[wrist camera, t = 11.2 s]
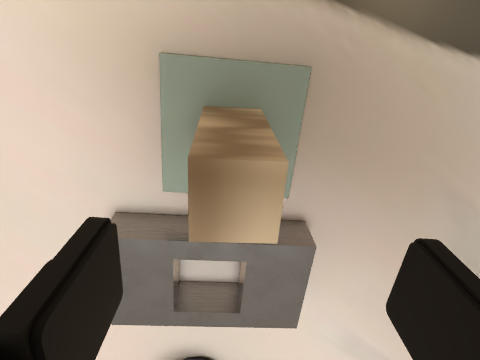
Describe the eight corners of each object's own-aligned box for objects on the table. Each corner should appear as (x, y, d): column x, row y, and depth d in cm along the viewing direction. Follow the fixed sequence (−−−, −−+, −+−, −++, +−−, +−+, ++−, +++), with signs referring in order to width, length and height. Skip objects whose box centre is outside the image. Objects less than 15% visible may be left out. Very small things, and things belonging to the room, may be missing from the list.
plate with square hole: (305, 221, 26) (316, 246, 23) (288, 297, 30) (296, 328, 27) (115, 212, 25) (99, 237, 21) (124, 293, 28) (111, 324, 25)
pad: (309, 66, 20) (311, 67, 20) (286, 194, 25) (288, 198, 24) (161, 52, 20) (159, 53, 19) (164, 187, 24) (162, 191, 23)
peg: (260, 108, 21) (288, 162, 12) (256, 161, 23) (277, 243, 14) (203, 105, 21) (187, 158, 12) (203, 159, 22) (188, 241, 13)
